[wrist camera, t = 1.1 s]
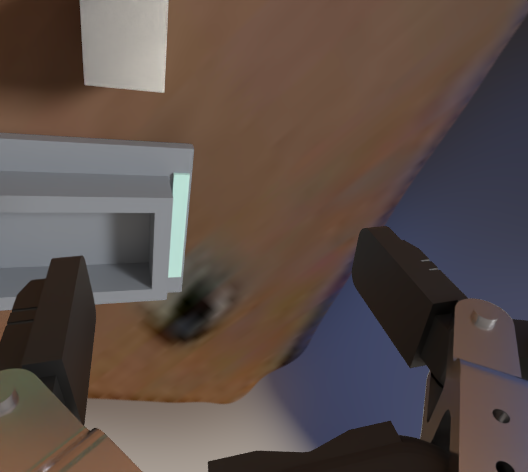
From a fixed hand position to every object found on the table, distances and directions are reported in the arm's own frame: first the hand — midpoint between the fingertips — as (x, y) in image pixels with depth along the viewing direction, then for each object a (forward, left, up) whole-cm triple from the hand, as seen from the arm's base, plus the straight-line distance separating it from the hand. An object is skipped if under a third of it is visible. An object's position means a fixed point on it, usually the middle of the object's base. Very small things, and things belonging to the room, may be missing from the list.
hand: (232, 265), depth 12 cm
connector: (-3, +3, -21) cm, 22 cm away
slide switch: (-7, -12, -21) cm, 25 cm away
